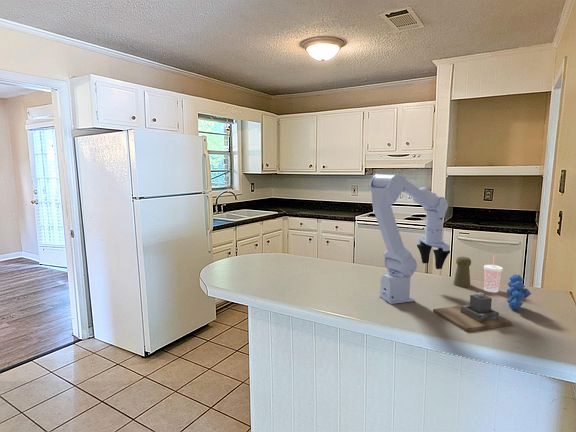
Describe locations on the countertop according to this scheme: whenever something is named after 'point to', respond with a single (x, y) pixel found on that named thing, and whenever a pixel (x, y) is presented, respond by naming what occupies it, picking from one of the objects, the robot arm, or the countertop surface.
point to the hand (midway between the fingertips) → (431, 265)
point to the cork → (462, 272)
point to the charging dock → (471, 318)
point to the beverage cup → (492, 277)
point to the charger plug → (480, 303)
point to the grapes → (516, 292)
